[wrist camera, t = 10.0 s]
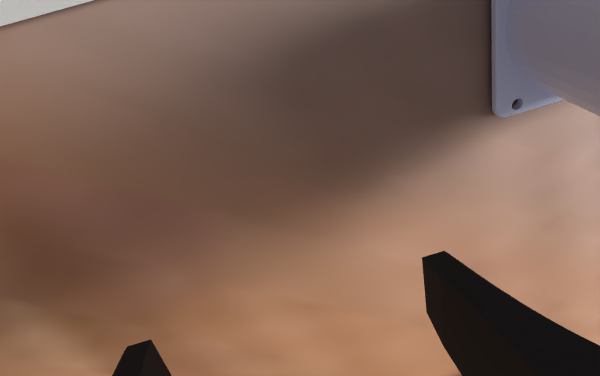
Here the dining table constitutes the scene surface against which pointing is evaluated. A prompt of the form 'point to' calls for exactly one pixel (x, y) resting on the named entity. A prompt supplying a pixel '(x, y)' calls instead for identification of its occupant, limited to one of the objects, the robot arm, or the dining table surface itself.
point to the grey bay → (31, 8)
